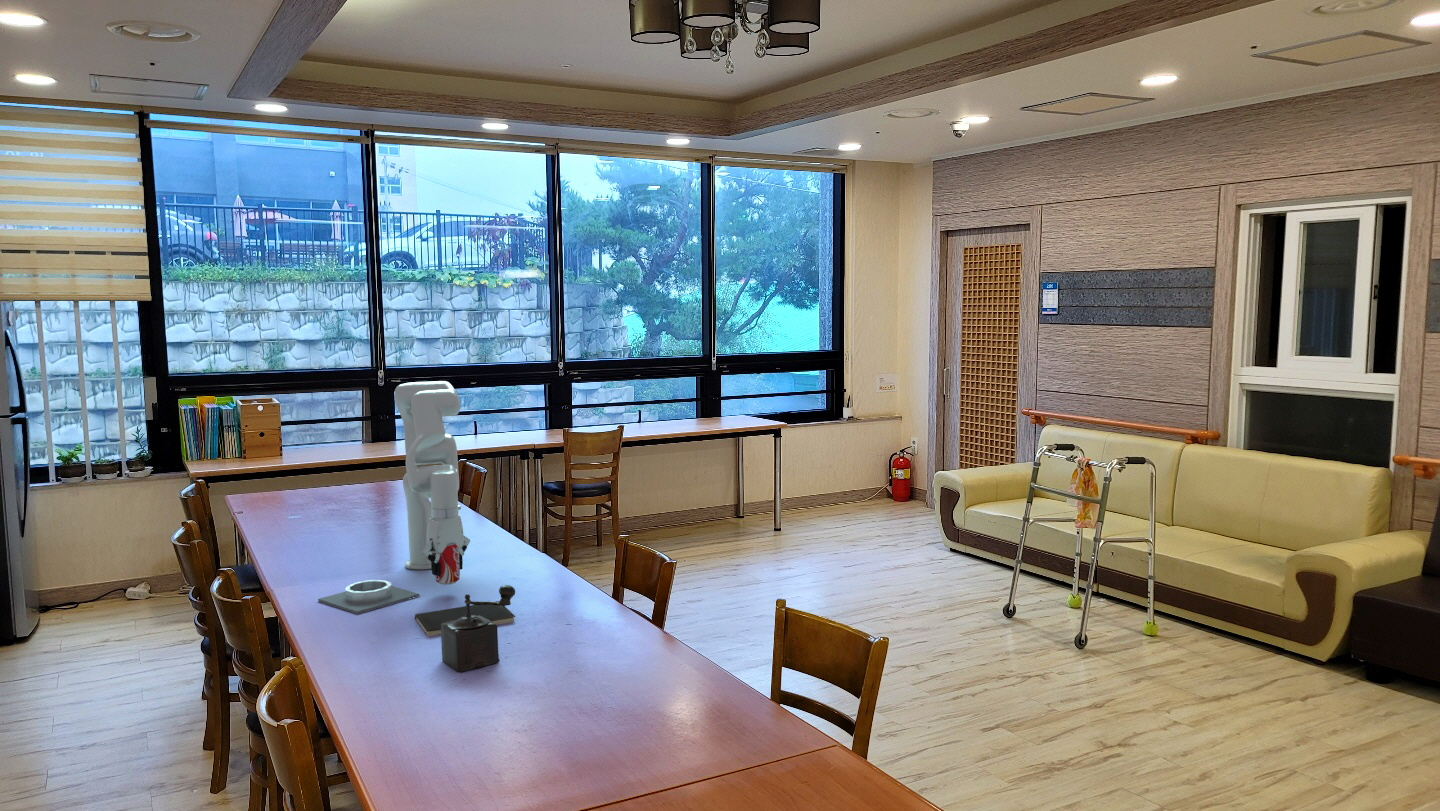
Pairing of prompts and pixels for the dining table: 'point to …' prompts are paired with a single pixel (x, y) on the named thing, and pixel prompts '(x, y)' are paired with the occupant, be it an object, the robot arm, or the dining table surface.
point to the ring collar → (368, 591)
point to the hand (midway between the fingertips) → (447, 571)
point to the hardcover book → (435, 618)
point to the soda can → (449, 565)
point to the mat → (357, 608)
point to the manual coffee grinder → (472, 637)
